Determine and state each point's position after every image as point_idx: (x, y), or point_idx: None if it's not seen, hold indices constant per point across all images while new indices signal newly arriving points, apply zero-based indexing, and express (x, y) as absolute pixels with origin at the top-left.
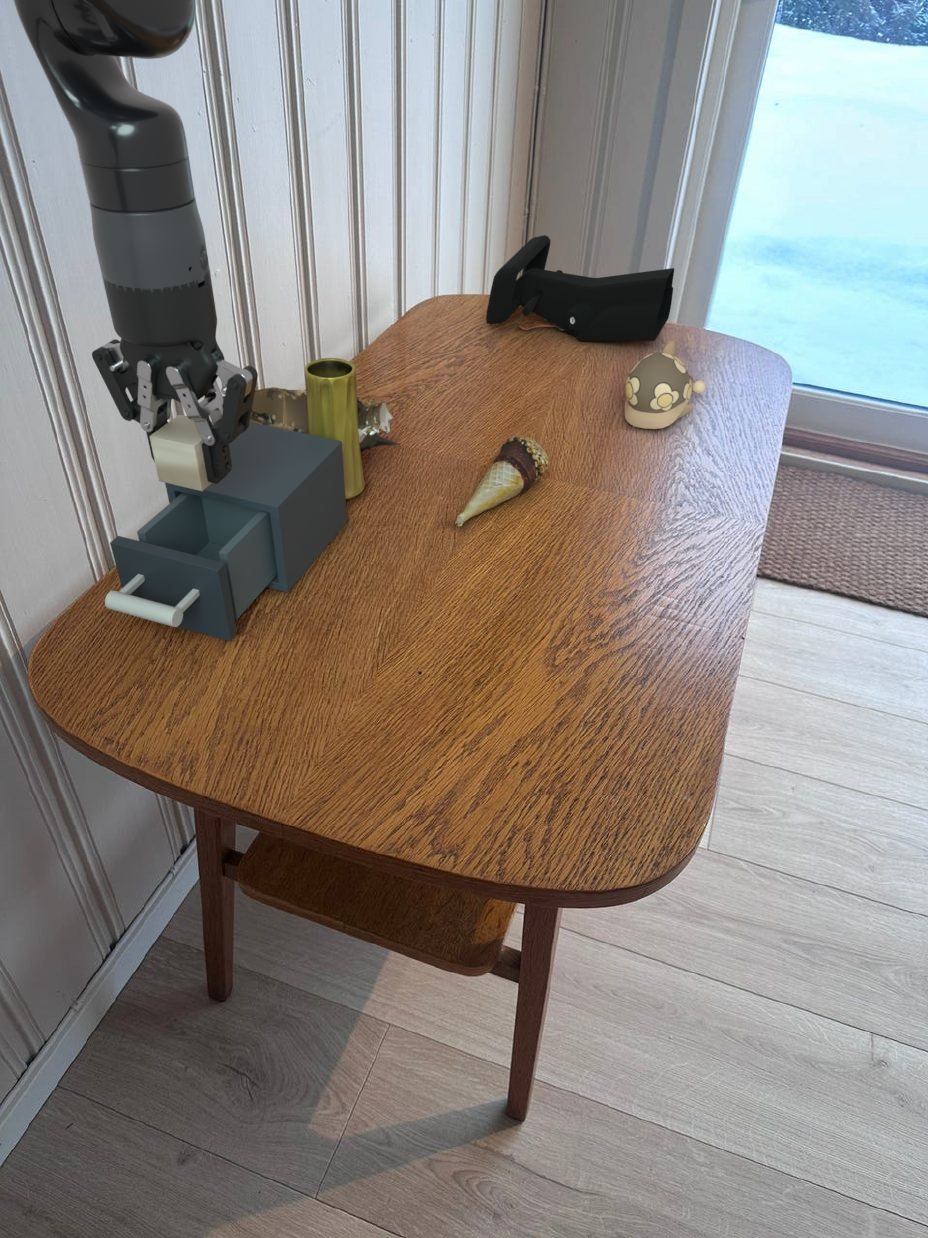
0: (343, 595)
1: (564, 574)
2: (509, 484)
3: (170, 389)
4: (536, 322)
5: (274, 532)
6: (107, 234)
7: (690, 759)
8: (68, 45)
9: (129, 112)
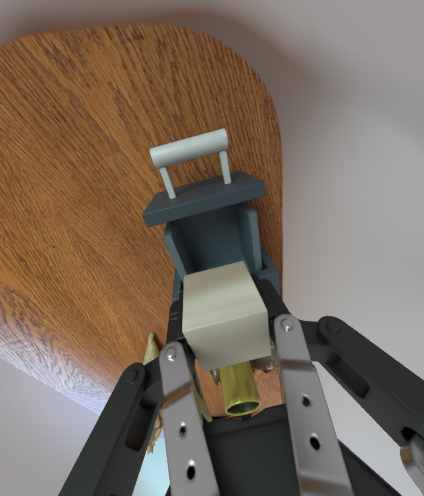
0: (150, 267)
1: (81, 336)
2: (143, 364)
3: (249, 458)
4: (234, 416)
5: (178, 279)
6: None
7: None
8: None
9: None
